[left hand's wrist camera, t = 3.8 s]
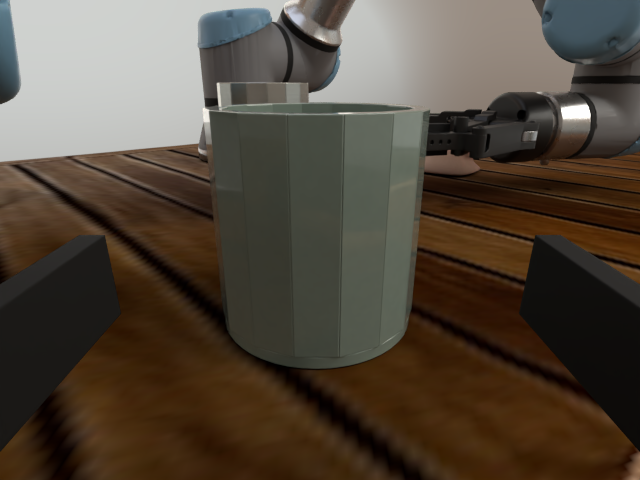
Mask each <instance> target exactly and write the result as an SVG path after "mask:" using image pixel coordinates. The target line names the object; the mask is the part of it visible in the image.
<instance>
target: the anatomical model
mask: <svg viewBox="0 0 640 480" xmlns="http://www.w3.org/2000/svg"><path fill="white" fill-rule="evenodd" d="M450 152H451V150H448V151H447V155H440V156H426V158H425V168H424V172H427V173H435V174H444V175H467V174H471V173H474V172H477V171H478V170H480V167H479V166H478V165H477V164H476V163H474V161H473V158H470V157H469V153H467V154H465V155H463V156H454V155H452V154H450Z"/></svg>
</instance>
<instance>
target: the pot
mask: <svg viewBox="0 0 640 480" xmlns="http://www.w3.org/2000/svg"><path fill="white" fill-rule="evenodd" d="M429 115H430V108H427V107H422V106H413V105H400V104H377V103H258V104H234V105H220V106H212V107H207V108H203V117H204V128H205V137H206V147H207V157H208V167H209V177H210V187H211V197H212V207H213V217H214V227H215V237H216V246H217V256H218V266H219V276H220V286H221V296H222V306H223V311H224V314H225V321H226V326H227V330H228V332H229V334H230V336H231V337H232V338H233V340H234V341H235V342H236V343H237V344H238V345H239V346H240V347H241V348H243V349H244V350H246V351H247V352H249V353H250V354H252V355H254V356H256V357H258V358H260V359H263V360H266V361H269V362H272V363H275V364H279V365H283V366H288V367H296V368H306V369H327V368H337V367H345V366H350V365H354V364H358V363H361V362H364V361H367V360H370V359H373V358H375V357H377V356H379V355H381V354H383V353H385V352H386V351H388V350H389V349H391V348H392V347H393V346H394V345H395V344H397V343H398V342H399V340H400V339H401V338H402V337H403V335H404V333H405V331H406V329H407V326H408V321H409V313H410V311H411V305H412V295H413V284H414V274H415V263H416V253H417V242H418V232H419V221H420V210H421V200H422V189H423V179H424V168H425V158H426V147H427V137H428V126H429Z"/></svg>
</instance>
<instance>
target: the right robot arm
mask: <svg viewBox="0 0 640 480" xmlns="http://www.w3.org/2000/svg"><path fill="white" fill-rule="evenodd" d="M532 1H533V3H534V5H535V7H536V9H537V11H538V13H539V14H540V16H541V18H542V30H543V35H544V37H545V40H546V41H547V43H548V45H549V46H550V47H551V48H552V49H553V50H554V51H555V53H556V54H557V55H558V56H559V57H561V58H562V59H564V60H566V61H568V62H571V63H576V65H575V70H574V75H573V78H572V83H571V84H572V85H571V89H570V92H536V93H535V92H508V93H504V94H502V95H500V96H498V97H497V98H496V99H494V100H493V101H492V103H491V104H490V105H489V107H488V109H487V110H486V111H483V112H482V110H480V109H468V110H466V111H444V112H442V113H430V115H429V126H428V137H427V147H426V156H440V155H447V151H448V150H451V152H450V154H452V155H454V156H463V155H465V154H467V153H469V157H470V158H473V159H475V160H479V159H481V158H486V157H490V158H491V159H493V160H494V161H496V162H500V163H510V162H527V161H539V160H540V164H541V165H547V164H548V163H549V160H550V159H555V160H557V159H581V158H605V159H606V158H612V157H616V156H624V155H630V154H634V153H637V152H639V151H640V0H532ZM354 2H355V0H292V1H288V2H286V4H285V5H284V7H283V10H282V12H281V14H280V17H279V19H278V21H277V22H271V21H272V17H271V16H270V12H269V10H267V9H265V8H245V9H232V10H223V11H216V12H210V13H207V14H204V15H203V16H201V18H200V19H199V22H198V47H199V50H200V60H201V70H202V80H203V90H204V99H205V108H207V107H212V106H219V104H218V93H217V83H308V93H311V92H316V91H319V90H322V89H323V88H325V87H327V86H328V85H329V84H330V83H331V82H332V80H333V79H334V77H335V76H336V74H337V72H338V69H339V65H340V60H339V56H340V47H339V46H340V44H341V43H342V34H341V30H340V27H341V25H342V23H343V21H344V20H345V18H346V16H347V14H348V12H349V11H350V9H351V7H352V5H353V3H354ZM625 83H633V84H625ZM481 112H482V114H481ZM198 149H199V158H200V159H201V160H204V161H208V157H207V147H206V137H205V128H204V123H203V127H202V132H201V137H200V142H199V147H198Z"/></svg>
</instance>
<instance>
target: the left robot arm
mask: <svg viewBox="0 0 640 480" xmlns="http://www.w3.org/2000/svg"><path fill="white" fill-rule="evenodd" d="M20 86H21V78H20V70H19V64H18V56H17V49H16V42H15V35H14V28H13V21H12V14H11V7H10V1H9V0H0V104H2V103H5V102H7V101H9V100H11V99H13V98H14V97H15V96H16V95H17V93H18V92H19V90H20ZM120 314H121V312H120V307H119V302H118V297H117V292H116V288H115V283H114V278H113V273H112V268H111V263H110V259H109V254H108V249H107V244H106V239H105V235H79V236H77V237H76V238H74V239H73V240H71V241H69V242H68V243H66V244H65V245H63V246H61V247H60V248H58V249H56V250H55V251H53V252H52V253H50V254H48V255H47V256H45V257H44V258H42V259H40V260H39V261H37V262H36V263H34V264H32V265H31V266H29V267H28V268H26V269H24V270H23V271H21V272H19V273H18V274H16V275H15V276H13V277H11V278H10V279H8V280H7V281H5V282H3V283H2V284H0V451H1V450H2V449H3V448H4V447H5V446H6V445H7V443H8V442H9V441H10V440H11V439H12V438H13V436H14V435H15V434H16V433H17V432H18V431H19V430H20V428H21V427H22V426H23V425H24V424H25V423H26V422H27V420H28V419H29V418H30V417H31V416H32V415H33V414H34V412H35V411H36V410H37V409H38V408H39V407H40V406H41V404H42V403H43V402H44V401H45V400H46V399H47V398H48V396H49V395H50V394H51V393H52V392H53V391H54V390H55V388H56V387H57V386H58V385H59V384H60V383H61V382H62V380H63V379H64V378H65V377H66V376H67V375H68V374H69V372H70V371H71V370H72V369H73V368H74V367H75V366H76V364H77V363H78V362H79V361H80V360H81V359H82V358H83V356H84V355H85V354H86V353H87V352H88V351H89V350H90V348H91V347H92V346H93V345H94V344H95V343H96V342H97V340H98V339H99V338H100V337H101V336H102V335H103V333H104V332H105V331H106V330H107V329H108V328H109V327H110V325H111V324H112V323H113V322H114V321H115V320H116V319H117V317H118V316H119V315H120ZM519 314H520V315H521V316H522V317H523V319H524V320H525V321H526V322H527V323H528V324H529V325H530V327H531V328H532V329H533V330H534V331H535V332H536V333H537V335H538V336H539V337H540V338H541V339H542V340H543V342H544V343H545V344H546V345H547V346H548V347H549V348H550V350H551V351H552V352H553V353H554V354H555V355H556V356H557V358H558V359H559V360H560V361H561V362H562V363H563V364H564V366H565V367H566V368H567V369H568V370H569V371H570V372H571V374H572V375H573V376H574V377H575V378H576V379H577V380H578V382H579V383H580V384H581V385H582V386H583V387H584V388H585V390H586V391H587V392H588V393H589V394H590V395H591V396H592V398H593V399H594V400H595V401H596V402H597V403H598V404H599V406H600V407H601V408H602V409H603V410H604V411H605V412H606V414H607V415H608V416H609V417H610V418H611V419H612V420H613V422H614V423H615V424H616V425H617V426H618V427H619V428H620V430H621V431H622V432H623V433H624V434H625V435H626V436H627V438H628V439H629V440H630V441H631V442H632V443H633V445H634V446H635V447H636V448H637V449H638V450H639V451H640V284H638V283H637V282H635V281H633V280H632V279H630V278H629V277H627V276H625V275H624V274H622V273H621V272H619V271H617V270H616V269H614V268H612V267H611V266H609V265H608V264H606V263H604V262H603V261H601V260H600V259H598V258H596V257H595V256H593V255H592V254H590V253H588V252H587V251H585V250H584V249H582V248H580V247H579V246H577V245H575V244H574V243H572V242H571V241H569V240H567V239H566V238H564V237H563V236H561V235H535V239H534V244H533V249H532V254H531V259H530V263H529V268H528V273H527V278H526V283H525V288H524V292H523V297H522V302H521V307H520V312H519Z"/></svg>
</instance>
